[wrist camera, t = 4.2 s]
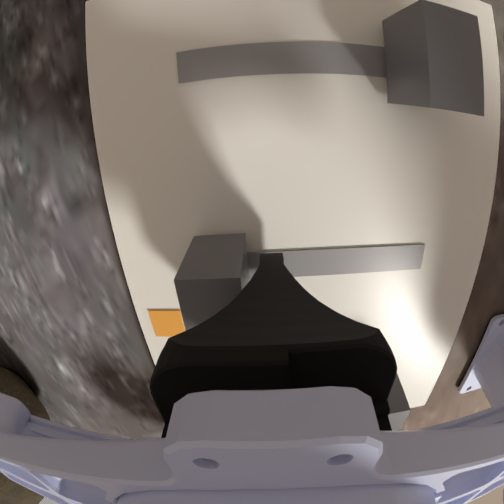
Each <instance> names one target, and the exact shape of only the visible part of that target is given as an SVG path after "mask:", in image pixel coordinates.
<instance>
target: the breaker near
mask: <svg viewBox="0 0 504 504" xmlns="http://www.w3.org/2000/svg"><path fill="white" fill-rule="evenodd" d="M382 26H383V35H384V46H385V59H386V76H387V103H391V104H402V105H411V106H420V107H428V108H435V109H442V110H449V111H456V112H462V113H467V114H473V115H478V116H483V117H484V76H483V60H482V48H481V39H480V31H479V24H478V17H477V16H475V15H473V14H470V13H467V12H464V11H461V10H458V9H455V8H451V7H448V6H445V5H441V4H438V3H434V2H430V1H427V0H419V1H417V2H415V3H413V4H411V5H409V6H407V7H406V8H404V9H402V10H400V11H398V12H397V13H395V14H393V15H391V16H389V17H388V18H386V19H384V20H383V21H382Z"/></svg>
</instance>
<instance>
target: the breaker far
mask: <svg viewBox="0 0 504 504" xmlns="http://www.w3.org/2000/svg"><path fill="white" fill-rule="evenodd" d="M387 400H388V404H389V407H390V414H389V415H388V418H389V421H390V425H391V428H392V431H400V429H401V428H402V426H403V424H404V422H405V420H406V418H407V416H408V414H409V412H410V410H411V409H410V407H409V404H408V401H407V398H406V396H405V393H404V390H403V387H402V385H401V382H400V379H399V377H398V374H397V373H396V378H395V380H394V383H393V386H392V389H391V391H390V394H389V396H388V399H387Z"/></svg>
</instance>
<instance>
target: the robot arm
mask: <svg viewBox="0 0 504 504" xmlns="http://www.w3.org/2000/svg"><path fill="white" fill-rule="evenodd" d="M259 261H260V265H259V267H258V269H257V270H256V272H255V273H254V275H253V276H252V278H251V279H250V281H249V282H248V283H247V285H246V286H245V287H244V288H243V290H242V291H241V292H240V293H239V294H238V295H237V296H236V297H235V298H234V299H233V300H232V301H231V302H230V303H229V304H228V305H227V306H226V307H224V308H223V309H222V310H220V311H219V312H218V313H216V314H215V315H214V316H212V317H210V318H209V319H207V320H206V321H204V322H202V323H200V324H199V325H197V326H195V327H193V328H191V329H189V330H186V331H184V332H182V333H179V334H177V335H175V336H172V337H170V338H168V340H167V342H166V344H165V346H164V348H163V349H162V351H161V353H160V356H159V358H158V360H157V363H156V366H155V369H154V372H153V375H152V377H151V382H150V391H151V394H152V397H153V399H154V401H155V403H156V406H157V408H158V410H159V412H160V414H161V416H162V418H163V420H164V422H165V425H164V429H163V433H162V437H161V438H156V439H138V440H133V439H127V438H121V437H116V436H111V435H106V434H101V433H96V432H92V431H87V430H83V429H79V428H75V427H71V426H67V425H64V424H60V423H56V422H53V421H50V420H46V419H43V418H40V417H37V416H34V415H31V414H30V412H29V410H28V409H27V408H26V406H25V405H24V404H23V403H22V402H21V401H19V400H18V399H16V398H14V397H11V396H8V395H6V394H3V393H0V472H2V473H3V474H4V475H5V476H6V477H8V478H9V479H11V480H12V481H14V482H16V483H18V484H20V485H22V486H24V487H26V488H28V489H30V490H32V491H34V492H36V493H38V494H40V495H42V496H44V497H46V498H48V499H50V500H52V501H55V502H57V503H59V504H467V503H469V502H471V501H473V500H475V499H477V498H479V497H480V496H483V495H485V494H487V493H489V492H490V491H492V490H494V489H496V488H498V487H500V486H501V485H503V484H504V314H501V315H496V316H494V317H493V318H492V319H491V321H490V323H489V325H488V328H487V330H486V332H485V335H484V337H483V339H482V342H481V344H480V346H479V348H478V350H477V353H476V355H475V357H474V359H473V361H472V363H471V365H470V367H469V369H468V371H467V373H466V375H465V377H464V379H463V381H462V382H461V384H460V386H459V388H458V391H459V393H461V394H462V393H466V392H469V391H472V390H476V389H479V388H482V389H483V391H484V393H485V395H486V397H487V399H488V401H489V403H490V405H491V407H492V408H489V409H486V410H483V411H481V412H478V413H475V414H472V415H469V416H466V417H463V418H459V419H456V420H453V421H449V422H446V423H442V424H439V425H435V426H431V427H427V428H423V429H419V430H414V431H392V428H391V425H390V421H389V418H388V415H389V414H390V407H389V404H388V400H387V399H388V396H389V394H390V391H391V389H392V386H393V383H394V380H395V378H396V373H397V364H396V360H395V357H394V354H393V352H392V350H391V348H390V346H389V344H388V342H387V340H386V339H385V337H384V336H383V334H382V333H381V331H380V329H378V328H375V327H372V326H369V325H366V324H363V323H360V322H357V321H355V320H352V319H350V318H348V317H346V316H344V315H342V314H340V313H338V312H336V311H334V310H332V309H331V308H329V307H328V306H326V305H324V304H323V303H321V302H320V301H318V300H317V299H316V298H315V297H313V296H312V295H311V294H310V293H309V292H307V291H306V290H305V289H304V288H303V287H302V286H301V285H300V284H299V282H298V281H297V280H296V279H295V278H294V277H293V275H292V274H291V273H290V272H289V270H288V269H287V268H286V266H285V265H284V258H283V253H262V254H260V260H259ZM503 504H504V490H503Z"/></svg>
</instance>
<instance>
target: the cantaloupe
mask: <svg viewBox="0 0 504 504" xmlns="http://www.w3.org/2000/svg"><path fill="white" fill-rule="evenodd" d="M0 393H3V394H6V395H8V396H11V397H14V398H16V399H18V400H19V401H21V402H22V403H23V404H24V405H25V406H26V408H27V409H28V410H29V412H30V414H31V415H34V416H37V417H40V418H43V419H46V420H50V418H49V416H48V413H47V411H46V409H45V407H44V406H43V404H42V403H41V402H40V401H39V399H38V398H37V397H36V396H35V394H34V393H33V392H32V391H31V389H30V388H29V387H28V386H27V384H26V383H25V382H24V381H23V380H22V379H21V378H20V377H19V376H17V375H16V374H15V373H13V372H12V371H10V370H8V369H6V368H3V367H0ZM43 498H44V496H42V495H40V494H38V493H36V492H34V491H32V490H30V489H28V488H26V487H24V486H22V485H20V484H18V483H16V482H14V481H12V480H11V479H9V478H8V477H6V476H5V475H4V474H3V473H2V472H0V504H39V502H40V501H41V500H42V499H43Z"/></svg>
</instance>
